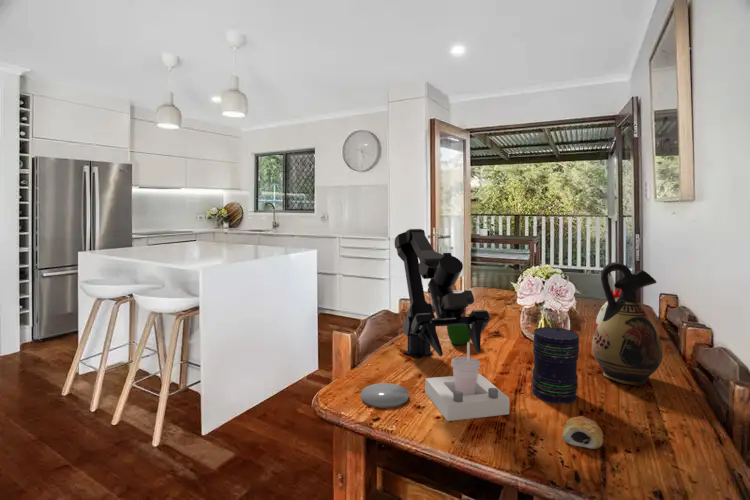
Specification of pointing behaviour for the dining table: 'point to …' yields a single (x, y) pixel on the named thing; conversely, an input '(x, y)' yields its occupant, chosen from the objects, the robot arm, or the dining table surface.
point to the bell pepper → (458, 334)
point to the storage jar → (555, 365)
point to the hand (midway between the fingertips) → (460, 354)
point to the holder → (466, 399)
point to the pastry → (582, 433)
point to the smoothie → (465, 373)
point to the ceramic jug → (626, 331)
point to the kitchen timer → (603, 309)
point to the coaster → (384, 395)
